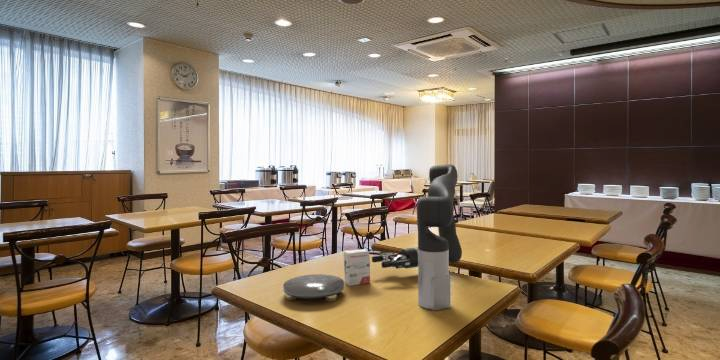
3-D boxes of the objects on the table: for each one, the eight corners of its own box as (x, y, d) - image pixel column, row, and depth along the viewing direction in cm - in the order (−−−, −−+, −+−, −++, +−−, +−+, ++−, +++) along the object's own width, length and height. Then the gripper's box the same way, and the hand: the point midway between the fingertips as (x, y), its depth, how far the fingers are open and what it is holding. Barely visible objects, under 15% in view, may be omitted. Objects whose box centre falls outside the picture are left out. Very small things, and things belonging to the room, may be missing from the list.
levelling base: (353, 300, 122) (352, 285, 121) (291, 310, 114) (290, 294, 114) (332, 282, 140) (332, 269, 140) (278, 290, 132) (277, 276, 132)
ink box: (365, 279, 143) (365, 248, 143) (370, 283, 139) (370, 251, 138) (343, 282, 140) (343, 250, 140) (348, 286, 136) (347, 253, 135)
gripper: (405, 244, 155) (369, 248, 149) (424, 251, 142) (385, 256, 136) (405, 262, 155) (369, 267, 149) (424, 271, 142) (385, 277, 136)
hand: (377, 262), depth 142 cm, fingers open, 8 cm apart
